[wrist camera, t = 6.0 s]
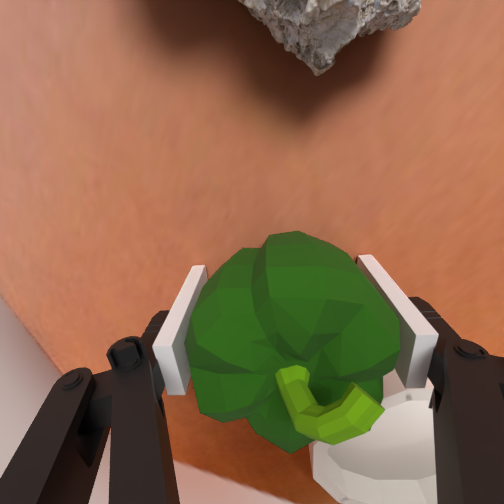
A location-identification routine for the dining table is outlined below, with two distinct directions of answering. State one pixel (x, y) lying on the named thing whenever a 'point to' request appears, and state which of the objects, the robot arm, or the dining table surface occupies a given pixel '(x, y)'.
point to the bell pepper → (292, 343)
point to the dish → (384, 453)
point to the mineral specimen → (328, 24)
